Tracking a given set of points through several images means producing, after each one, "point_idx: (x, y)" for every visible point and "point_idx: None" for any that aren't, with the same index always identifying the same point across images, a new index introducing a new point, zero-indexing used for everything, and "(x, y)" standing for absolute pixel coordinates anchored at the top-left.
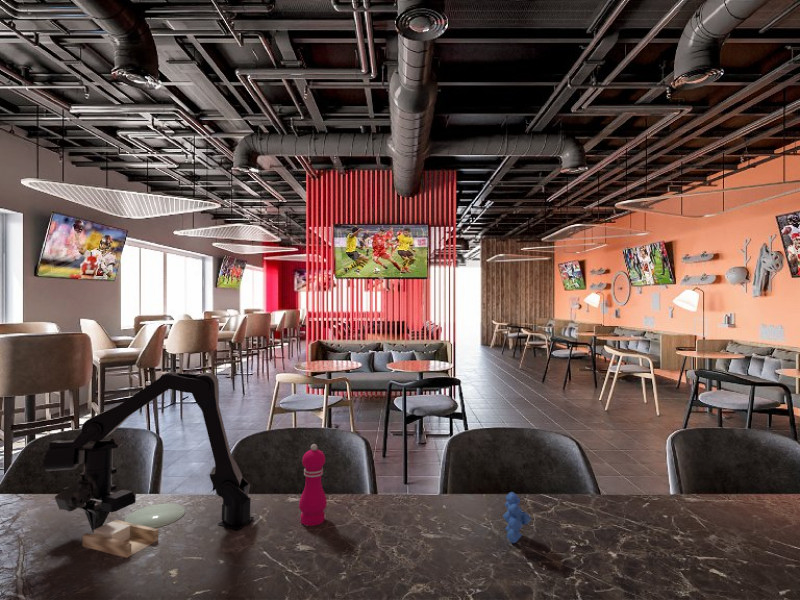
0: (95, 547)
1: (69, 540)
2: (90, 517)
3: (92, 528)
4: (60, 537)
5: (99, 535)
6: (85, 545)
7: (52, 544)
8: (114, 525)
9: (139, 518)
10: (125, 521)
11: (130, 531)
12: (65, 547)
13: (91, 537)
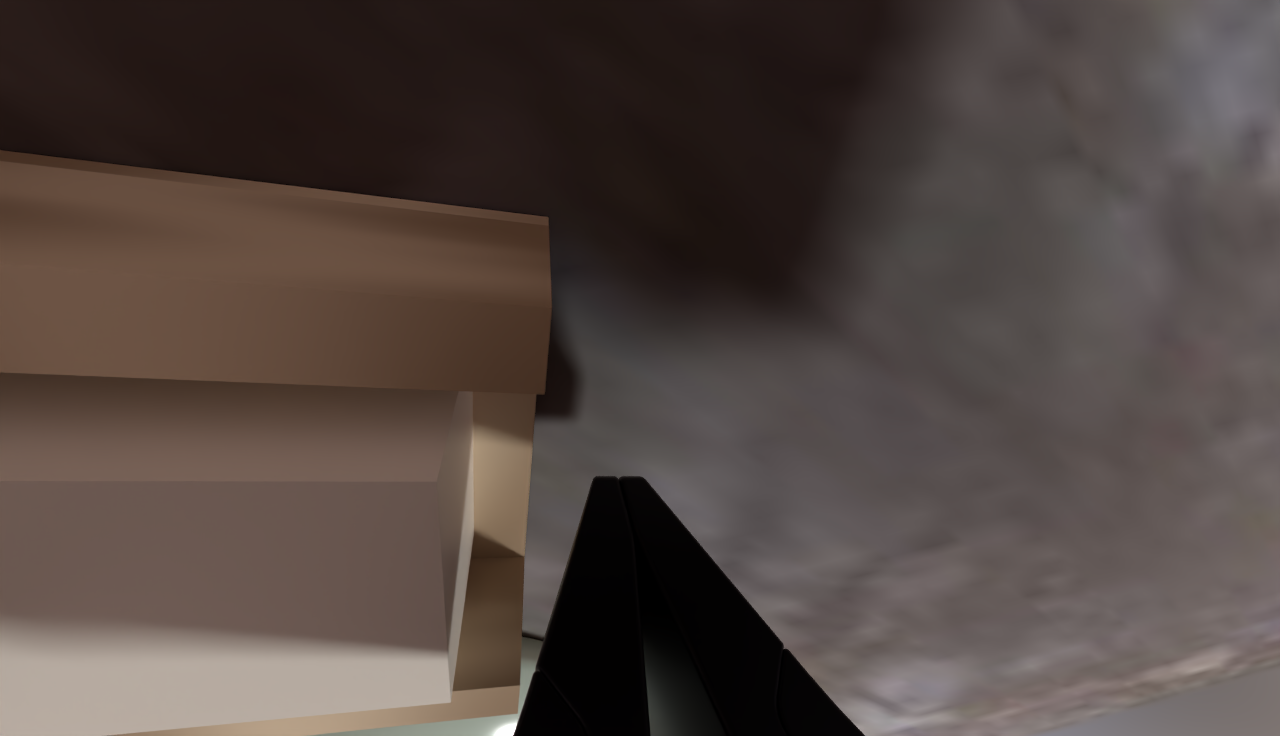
0: (145, 187)
1: (886, 328)
2: (727, 730)
3: (648, 521)
4: (1028, 350)
5: (253, 417)
6: (469, 224)
7: (1046, 199)
8: (228, 673)
9: (479, 733)
10: None
11: None
12: (817, 170)
13: (202, 275)
